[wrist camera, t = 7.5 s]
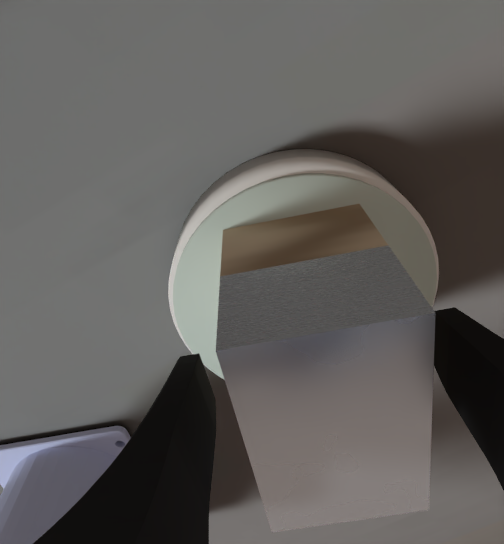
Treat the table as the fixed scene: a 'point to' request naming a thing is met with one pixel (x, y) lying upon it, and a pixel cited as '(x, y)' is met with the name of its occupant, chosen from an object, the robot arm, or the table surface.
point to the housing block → (327, 368)
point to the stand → (276, 205)
